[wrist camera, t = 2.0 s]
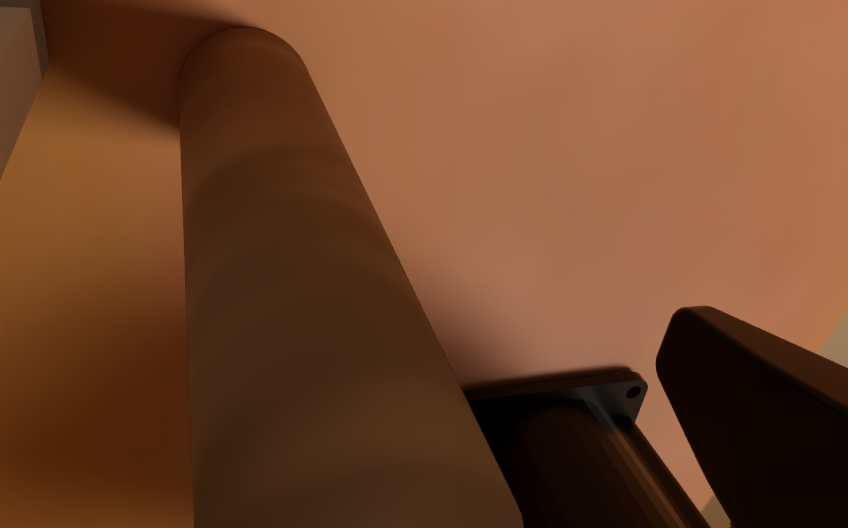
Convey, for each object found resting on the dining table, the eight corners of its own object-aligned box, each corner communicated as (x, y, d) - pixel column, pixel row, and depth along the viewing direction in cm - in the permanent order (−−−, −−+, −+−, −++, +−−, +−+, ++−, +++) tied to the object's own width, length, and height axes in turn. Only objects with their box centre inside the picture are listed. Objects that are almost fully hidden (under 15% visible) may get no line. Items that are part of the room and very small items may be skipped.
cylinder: (314, 30, 14) (555, 442, 5) (308, 151, 15) (493, 637, 7) (174, 23, 13) (188, 495, 4) (182, 152, 15) (203, 705, 6)
